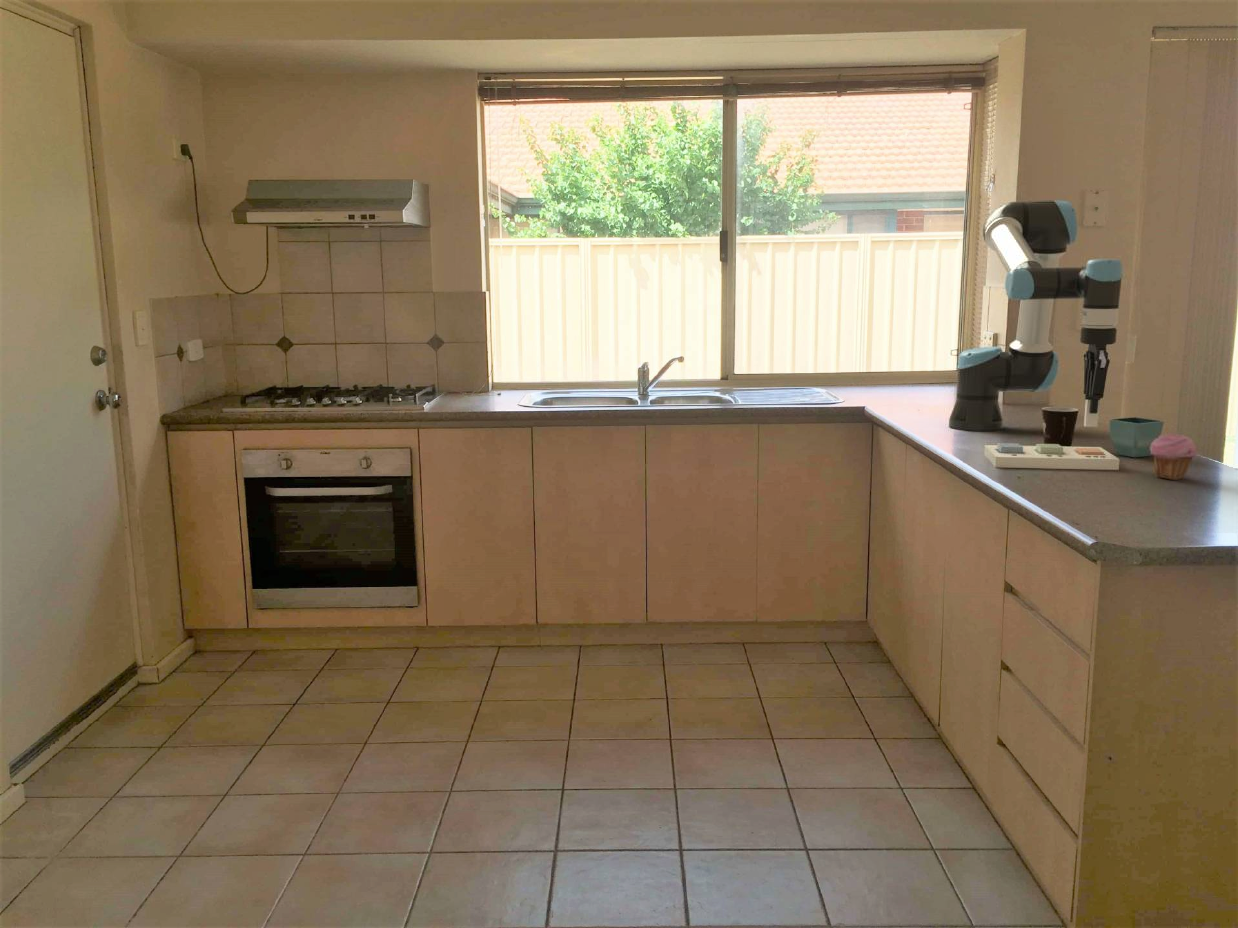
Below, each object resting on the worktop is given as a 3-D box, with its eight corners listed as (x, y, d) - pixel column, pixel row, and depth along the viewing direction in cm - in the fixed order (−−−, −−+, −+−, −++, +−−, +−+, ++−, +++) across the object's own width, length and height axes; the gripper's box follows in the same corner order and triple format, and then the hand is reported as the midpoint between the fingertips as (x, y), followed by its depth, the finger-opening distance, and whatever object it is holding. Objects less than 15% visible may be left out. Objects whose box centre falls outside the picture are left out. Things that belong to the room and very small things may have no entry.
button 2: (1035, 454, 240) (1036, 443, 239) (1057, 455, 239) (1058, 444, 238) (1040, 458, 235) (1040, 447, 234) (1062, 458, 234) (1063, 447, 233)
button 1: (996, 453, 241) (997, 443, 241) (1018, 454, 240) (1019, 443, 240) (1000, 457, 237) (1001, 446, 236) (1022, 458, 236) (1023, 447, 235)
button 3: (1074, 458, 238) (1075, 448, 238) (1097, 459, 237) (1097, 448, 237) (1080, 462, 233) (1081, 451, 233) (1102, 463, 232) (1103, 452, 232)
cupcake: (1139, 476, 220) (1143, 432, 218) (1166, 472, 223) (1170, 429, 221) (1175, 483, 212) (1179, 438, 210) (1202, 479, 215) (1207, 434, 213)
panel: (984, 454, 247) (984, 444, 247) (1099, 457, 242) (1100, 446, 242) (995, 467, 232) (995, 456, 231) (1118, 469, 227) (1119, 458, 226)
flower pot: (1105, 454, 246) (1108, 418, 244) (1131, 451, 249) (1134, 416, 247) (1134, 460, 238) (1137, 423, 236) (1161, 457, 241) (1165, 421, 239)
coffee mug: (1045, 443, 262) (1047, 406, 260) (1079, 446, 257) (1082, 408, 255) (1031, 449, 253) (1034, 411, 251) (1066, 453, 248) (1069, 413, 246)
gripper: (1074, 324, 236) (1067, 421, 241) (1089, 329, 223) (1080, 430, 229) (1108, 324, 234) (1100, 421, 240) (1124, 329, 222) (1115, 431, 227)
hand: (1090, 426), depth 234 cm, fingers closed
